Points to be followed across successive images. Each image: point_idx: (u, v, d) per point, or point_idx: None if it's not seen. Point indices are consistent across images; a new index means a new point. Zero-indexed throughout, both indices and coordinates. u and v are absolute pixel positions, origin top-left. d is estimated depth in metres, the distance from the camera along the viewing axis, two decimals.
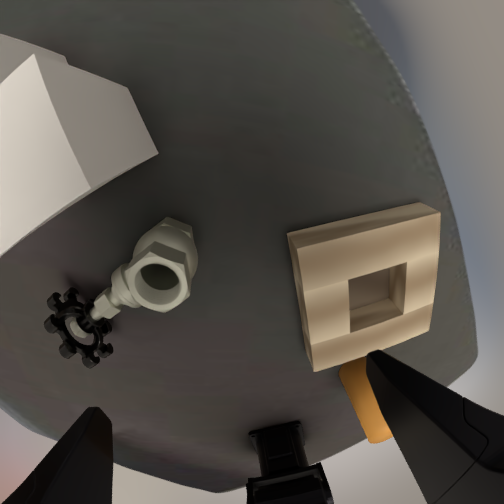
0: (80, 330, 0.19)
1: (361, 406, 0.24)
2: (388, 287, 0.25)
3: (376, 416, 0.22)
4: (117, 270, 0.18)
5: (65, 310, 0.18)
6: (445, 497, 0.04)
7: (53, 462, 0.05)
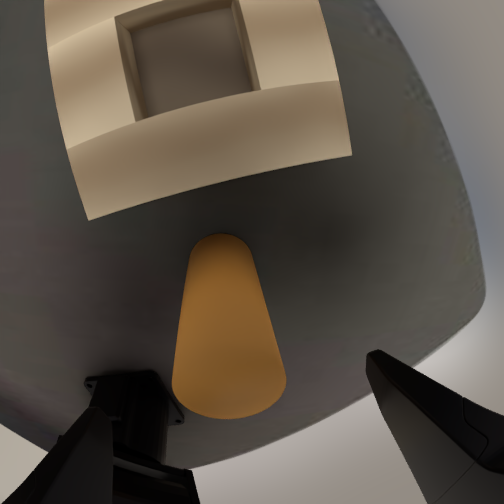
0: None
1: (181, 312, 0.11)
2: (247, 75, 0.13)
3: (191, 329, 0.09)
4: None
5: None
6: (445, 497, 0.04)
7: (53, 462, 0.05)
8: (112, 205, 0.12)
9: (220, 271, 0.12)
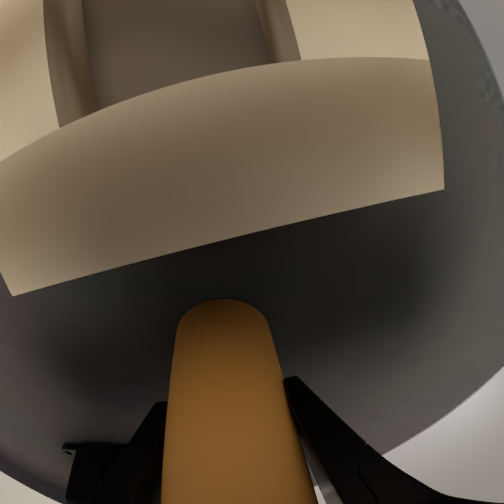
0: None
1: (165, 465, 0.05)
2: (266, 46, 0.07)
3: None
4: None
5: None
6: None
7: (128, 469, 0.05)
8: (39, 276, 0.06)
9: (225, 398, 0.06)
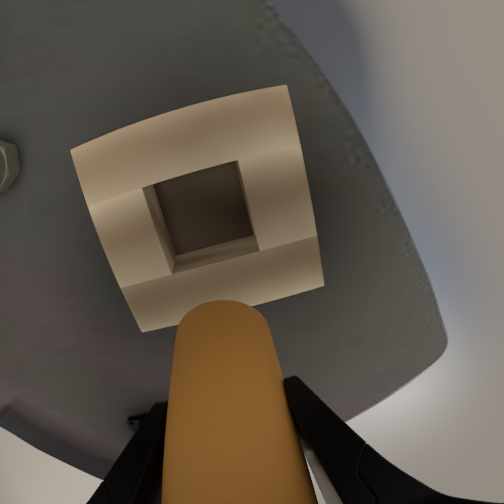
0: None
1: (165, 466, 0.05)
2: (249, 218, 0.19)
3: None
4: None
5: None
6: None
7: (128, 468, 0.05)
8: (159, 324, 0.18)
9: (225, 399, 0.06)
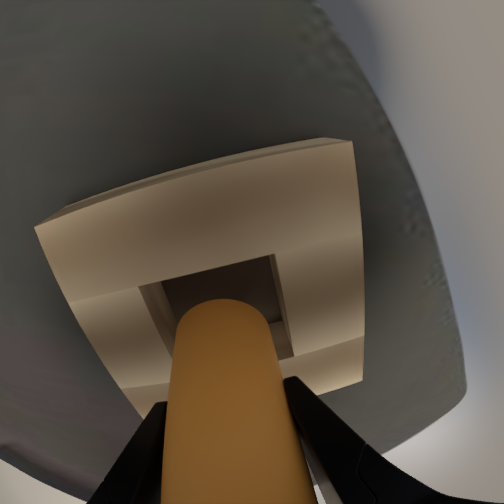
0: None
1: (164, 465, 0.05)
2: (278, 302, 0.15)
3: None
4: None
5: None
6: None
7: (128, 468, 0.05)
8: None
9: (225, 398, 0.06)
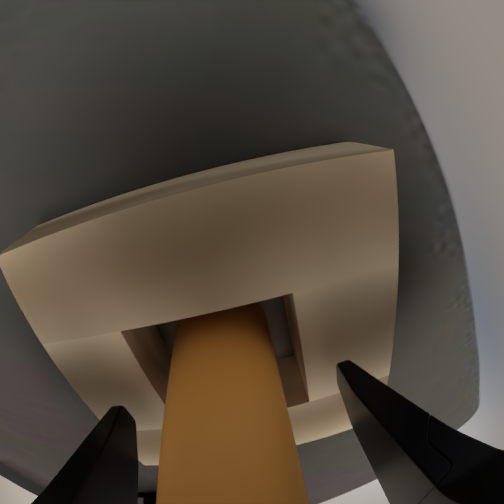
0: None
1: (162, 443, 0.06)
2: (290, 336, 0.13)
3: None
4: None
5: None
6: None
7: (78, 465, 0.05)
8: None
9: (220, 380, 0.07)
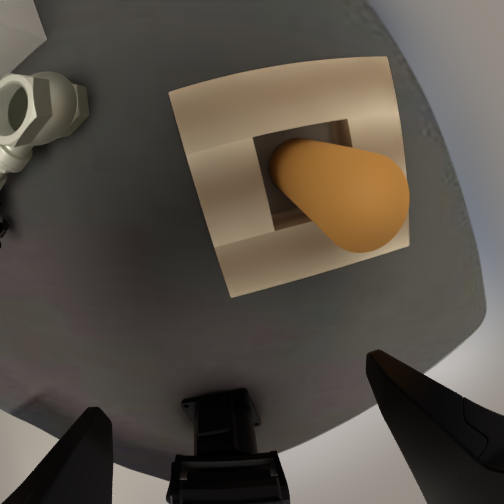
0: None
1: (299, 167, 0.12)
2: None
3: (328, 157, 0.10)
4: None
5: None
6: (445, 497, 0.04)
7: (53, 462, 0.05)
8: (252, 287, 0.18)
9: (322, 142, 0.13)
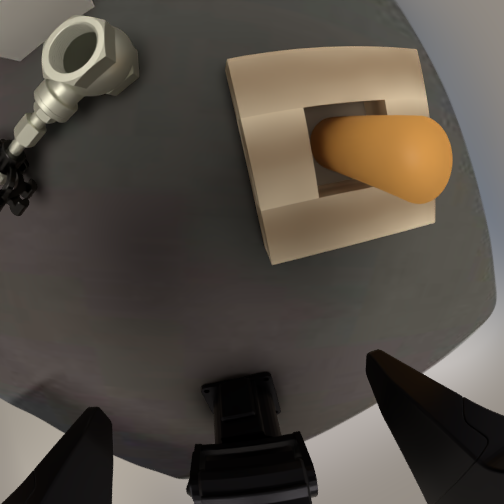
0: None
1: (354, 132, 0.12)
2: None
3: (386, 120, 0.11)
4: None
5: None
6: (445, 497, 0.04)
7: (53, 462, 0.05)
8: (293, 254, 0.18)
9: None
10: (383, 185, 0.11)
